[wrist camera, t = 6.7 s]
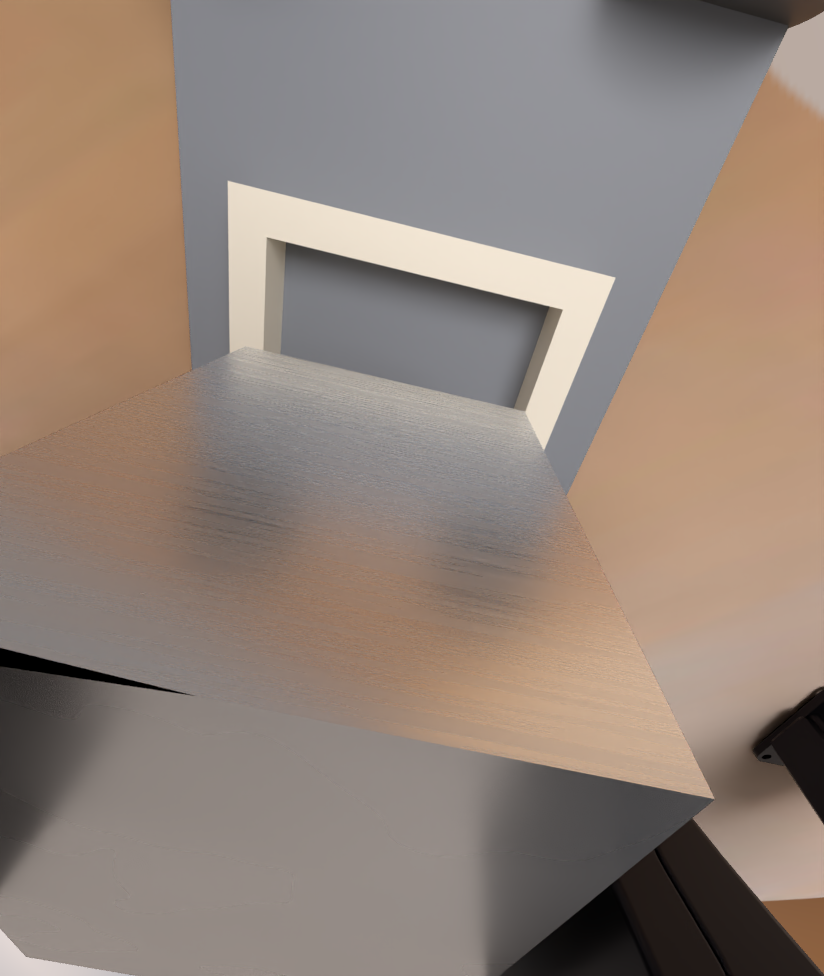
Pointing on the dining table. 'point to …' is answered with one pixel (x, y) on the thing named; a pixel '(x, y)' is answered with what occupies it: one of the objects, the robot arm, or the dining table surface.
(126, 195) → the dining table surface
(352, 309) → the chassis
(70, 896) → the block
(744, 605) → the dining table surface
